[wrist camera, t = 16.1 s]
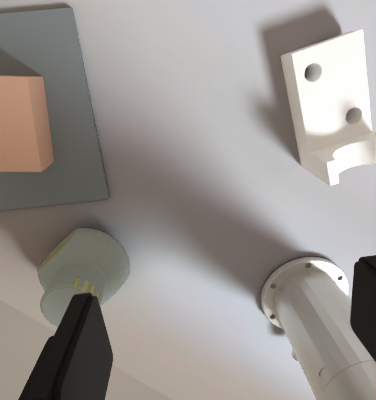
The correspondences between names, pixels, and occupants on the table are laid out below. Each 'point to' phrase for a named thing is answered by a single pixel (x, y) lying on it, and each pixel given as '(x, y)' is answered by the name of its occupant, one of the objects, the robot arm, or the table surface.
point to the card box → (24, 125)
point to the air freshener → (81, 271)
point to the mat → (53, 110)
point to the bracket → (331, 105)
